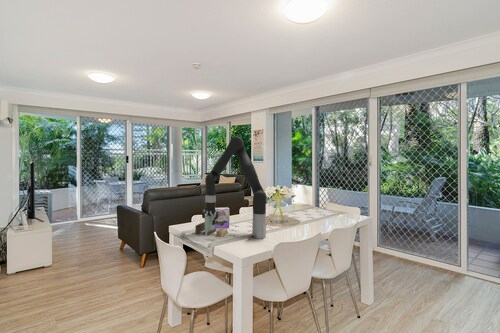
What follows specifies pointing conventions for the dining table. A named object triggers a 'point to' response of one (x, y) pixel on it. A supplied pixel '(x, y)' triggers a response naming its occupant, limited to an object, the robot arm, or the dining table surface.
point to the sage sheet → (208, 224)
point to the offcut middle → (222, 235)
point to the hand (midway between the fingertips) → (209, 224)
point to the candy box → (222, 218)
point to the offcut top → (221, 231)
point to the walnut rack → (202, 229)
